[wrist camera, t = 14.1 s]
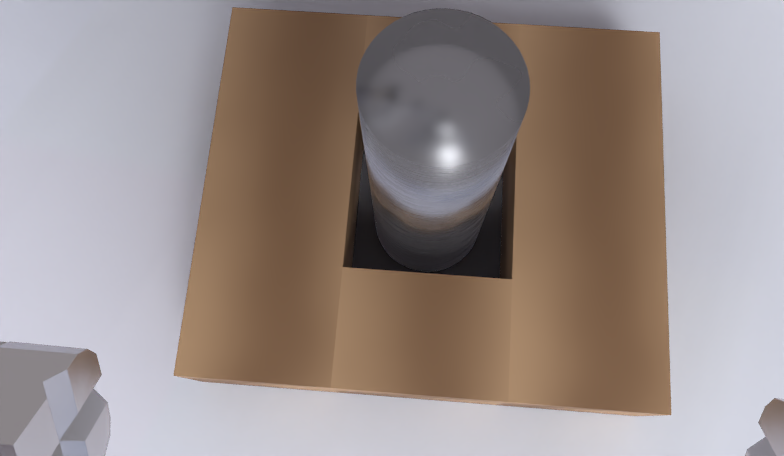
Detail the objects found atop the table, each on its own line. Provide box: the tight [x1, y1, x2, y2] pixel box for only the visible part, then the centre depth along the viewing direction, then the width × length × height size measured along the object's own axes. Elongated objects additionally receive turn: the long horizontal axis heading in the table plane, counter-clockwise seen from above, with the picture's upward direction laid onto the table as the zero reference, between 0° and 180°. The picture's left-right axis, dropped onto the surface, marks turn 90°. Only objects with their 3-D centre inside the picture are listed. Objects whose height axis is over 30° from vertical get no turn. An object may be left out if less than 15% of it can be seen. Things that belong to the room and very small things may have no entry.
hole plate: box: [174, 7, 671, 416], centre depth 22 cm, size 14×12×3 cm
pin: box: [356, 9, 530, 272], centre depth 19 cm, size 4×4×10 cm
